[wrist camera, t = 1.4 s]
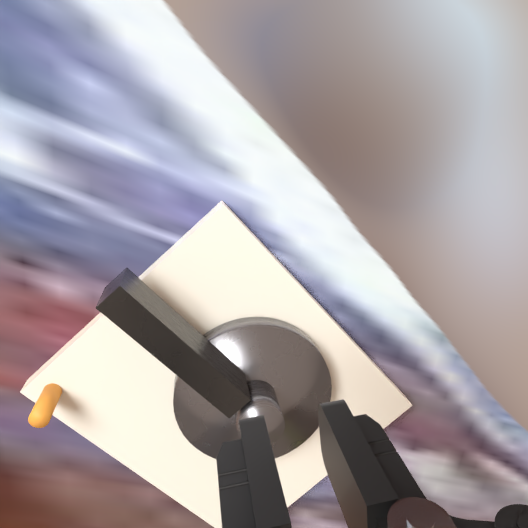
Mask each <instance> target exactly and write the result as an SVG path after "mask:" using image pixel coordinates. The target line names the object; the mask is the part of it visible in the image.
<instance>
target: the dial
mask: <svg viewBox="0 0 528 528" xmlns="http://www.w3.org/2000/svg"><path fill="white" fill-rule="evenodd" d="M96 309H97V310H99V311H100V312H101V313H102V314H103V315H105V316H106V317H107V318H108V319H109V320H111V321H112V322H113V323H114V324H116V325H117V326H118V327H119V328H120V329H122V330H123V331H124V332H125V333H126V334H128V335H129V336H130V337H131V338H132V339H134V340H135V341H136V342H137V343H138V344H140V345H141V346H142V347H143V348H144V349H146V350H147V351H148V352H149V353H151V354H152V355H153V356H154V357H155V358H157V359H158V360H159V361H160V362H161V363H163V364H164V365H165V366H166V367H167V368H169V369H170V370H171V371H172V372H173V373H175V374H176V376H175V380H174V395H173V407H174V414H175V418H176V421H177V424H178V426H179V429H180V430H181V432H182V433H183V435H184V437H185V438H186V439H187V440H188V441H189V442H190V443H191V444H192V445H193V446H194V447H195V448H196V449H198V450H199V451H201V452H202V453H204V454H206V455H208V456H210V457H212V458H214V459H216V457H217V455H218V453H219V450H220V448H221V446H222V443H223V442H228V441H233V440H238V439H241V433H240V426H239V420H240V419H245V418H250V417H255V416H260V415H264V418H265V422H266V426H267V430H268V434H269V438H270V442H271V446H272V450H273V454H274V458H278V457H280V456H283V455H285V454H287V453H289V452H291V451H292V450H294V449H296V448H297V447H299V446H300V445H301V444H303V443H304V442H305V441H306V440H307V439H308V438H309V437H310V436H311V435H312V434H313V433H314V432H315V431H316V430H317V428H318V427H319V418H318V404H322V403H327V402H330V400H331V392H332V384H331V377H330V373H329V369H328V367H327V364H326V362H325V360H324V358H323V357H322V355H321V353H320V351H319V350H318V348H317V346H316V345H315V343H314V342H313V341H312V340H311V339H310V337H309V336H307V335H306V334H305V333H304V332H303V331H302V330H300V329H298V328H297V327H295V326H294V325H291V324H289V323H287V322H284V321H281V320H278V319H274V318H268V317H245V318H240V319H235V320H232V321H229V322H226V323H223V324H221V325H219V326H217V327H215V328H213V329H211V330H210V331H208V332H206V333H205V334H204V335H202V334H201V333H200V332H198V331H197V330H196V329H195V328H194V327H193V326H192V325H191V324H189V323H188V322H187V321H186V320H185V319H184V318H183V317H182V316H181V315H179V314H178V313H177V312H176V311H175V310H174V309H173V308H172V307H171V306H169V305H168V304H167V303H166V302H165V301H164V300H163V299H162V298H160V297H159V296H158V295H157V294H156V293H155V292H154V291H153V290H152V289H150V288H149V287H148V286H147V285H146V284H145V283H144V282H143V281H142V280H140V279H139V278H138V277H137V276H136V275H135V274H134V273H133V272H131V271H130V270H129V269H128V268H126V269H125V270H123V271H122V272H121V273H120V274H119V275H118V276H117V277H116V278H115V279H114V280H113V281H112V282H111V283H109V284H108V285H107V286H106V287H105V289H104V291H103V293H102V295H101V297H100V300H99V302H98V304H97V306H96Z"/></svg>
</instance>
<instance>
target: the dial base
mask: <svg viewBox="0 0 528 528" xmlns="http://www.w3.org/2000/svg"><path fill="white" fill-rule="evenodd" d="M138 278H139V279H140V280H142V281H143V282H144V283H145V284H146V285H147V286H148V287H149V288H150V289H152V290H153V291H154V292H155V293H156V294H157V295H158V296H159V297H160V298H162V299H163V300H164V301H165V302H166V303H167V304H168V305H169V306H171V307H172V308H173V309H174V310H175V311H176V312H177V313H178V314H179V315H181V316H182V317H183V318H184V319H185V320H186V321H187V322H188V323H189V324H191V325H192V326H193V327H194V328H195V329H196V330H197V331H198V332H200V333H201V334H202V335H204V334H205V333H206V332H208V331H210V330H211V329H213V328H215V327H217V326H219V325H221V324H223V323H226V322H229V321H232V320H235V319H240V318H245V317H268V318H274V319H278V320H281V321H284V322H287V323H289V324H291V325H294V326H295V327H297V328H298V329H300V330H302V331H303V332H304V333H305V334H306V335H307V336H309V337H310V339H311V340H312V341H313V342H314V343H315V345H316V346H317V348H318V350H319V351H320V353H321V355H322V357H323V358H324V360H325V362H326V364H327V367H328V369H329V373H330V377H331V384H332V392H331V400H330V402H332V401H337V400H342V399H343V400H345V402H346V403H347V405H348V407H349V409H350V411H351V413H352V414H353V416H358V415H363V414H367V415H368V416H369V417H371V418H372V419H373V420H375V421H376V422H377V423H379V424H380V425H381V427H382V428H383V429H384V428H385V427H387V426H388V425H389V424H390V423H391V422H393V421H394V420H395V419H396V418H398V417H399V416H400V415H401V414H403V413H404V412H405V411H406V410H407V409H409V408H410V407H411V406H412V404H411V403H410V401H409V400H408V399H407V398H406V396H405V395H404V394H403V393H402V392H401V391H400V389H399V388H398V387H397V386H396V385H395V384H394V383H393V382H392V381H391V380H390V379H389V378H388V377H387V376H386V375H385V373H384V372H383V371H382V370H381V369H380V368H379V367H378V366H377V365H376V364H375V363H374V362H373V361H372V360H371V359H370V357H369V356H368V355H367V354H366V353H365V352H364V351H363V350H362V349H361V348H360V347H359V346H358V345H357V344H356V343H355V341H354V340H353V339H352V338H351V337H350V336H349V335H348V334H347V333H346V332H345V331H344V330H343V329H342V328H341V327H340V325H339V324H338V323H337V322H336V321H335V320H334V319H333V318H332V317H331V316H330V315H329V314H328V313H327V312H326V311H325V309H324V308H323V307H322V306H321V305H320V304H319V303H318V302H317V301H316V300H315V299H314V298H313V297H312V296H311V295H310V293H309V292H308V291H307V290H306V289H305V288H304V287H303V286H302V285H301V284H300V283H299V282H298V281H297V280H296V279H295V277H294V276H293V275H292V274H291V273H290V272H289V271H288V270H287V269H286V268H285V267H284V266H283V265H282V264H281V263H280V261H279V260H278V259H277V258H276V257H275V256H274V255H273V254H272V253H271V252H270V251H269V250H268V249H267V248H266V247H265V245H264V244H263V243H262V242H261V241H260V240H259V239H258V238H257V237H256V236H255V235H254V234H253V233H252V232H251V231H250V229H249V228H248V227H247V226H246V225H245V224H244V223H243V222H242V221H241V220H240V219H239V218H238V217H237V216H236V215H235V213H234V212H233V211H232V210H231V209H230V208H229V207H228V206H227V205H226V204H225V203H224V202H223V201H221V202H220V203H218V204H217V205H216V206H215V207H214V208H213V209H212V210H211V211H210V212H209V213H208V214H207V215H205V216H204V217H203V218H202V219H201V220H200V221H199V222H198V223H197V224H196V225H195V226H194V227H192V228H191V229H190V230H189V231H188V232H187V233H186V234H185V235H184V236H183V237H182V238H181V239H179V240H178V241H177V242H176V243H175V244H174V245H173V246H172V247H171V248H170V249H169V250H168V251H166V252H165V253H164V254H163V255H162V256H161V257H160V258H159V259H158V260H157V261H156V262H154V263H153V264H152V265H151V266H150V267H149V268H148V269H147V270H146V271H145V272H144V273H143V274H141V275H140V276H139V277H138ZM175 376H176V374H175V373H173V372H172V371H171V370H170V369H169V368H167V367H166V366H165V365H164V364H163V363H161V362H160V361H159V360H158V359H157V358H155V357H154V356H153V355H152V354H151V353H149V352H148V351H147V350H146V349H144V348H143V347H142V346H141V345H140V344H138V343H137V342H136V341H135V340H134V339H132V338H131V337H130V336H129V335H128V334H126V333H125V332H124V331H123V330H122V329H120V328H119V327H118V326H117V325H116V324H114V323H113V322H112V321H111V320H109V319H108V318H107V317H106V316H105V315H103V314H102V313H101V312H100V313H99V314H98V315H97V316H96V317H95V318H94V319H93V320H92V321H91V322H89V323H88V324H87V325H86V326H85V327H84V328H83V329H82V330H81V331H80V332H79V333H78V334H76V335H75V336H74V337H73V338H72V339H71V340H70V341H69V342H68V343H67V344H66V345H65V346H63V347H62V348H61V349H60V350H59V351H58V352H57V353H56V354H55V355H54V356H53V357H52V358H50V359H49V360H48V361H47V362H46V363H45V364H44V365H43V366H42V367H41V368H40V369H39V370H37V371H36V372H35V373H34V374H33V375H32V376H31V377H30V378H29V379H28V380H27V381H26V383H25V385H24V386H23V388H22V390H21V391H20V393H22V394H23V395H25V396H26V397H27V398H29V399H30V400H32V401H33V402H35V403H36V404H35V406H34V408H33V410H32V412H31V413H30V415H29V418H28V421H29V423H30V425H32V426H33V427H36V428H42V427H45V426H46V425H47V424H48V423H49V421H50V419H51V416H52V415H53V416H55V417H56V418H58V419H59V420H61V421H62V422H63V423H65V424H66V425H68V426H69V427H71V428H72V429H74V430H75V431H76V432H78V433H79V434H81V435H82V436H84V437H85V438H86V439H88V440H89V441H91V442H92V443H94V444H95V445H97V446H98V447H99V448H101V449H102V450H104V451H105V452H107V453H108V454H110V455H111V456H112V457H114V458H115V459H117V460H118V461H120V462H121V463H122V464H124V465H125V466H127V467H128V468H130V469H131V470H133V471H134V472H135V473H137V474H138V475H140V476H141V477H143V478H144V479H145V480H147V481H148V482H150V483H151V484H153V485H154V486H156V487H157V488H158V489H160V490H161V491H163V492H164V493H166V494H167V495H169V496H170V497H171V498H173V499H174V500H176V501H177V502H179V503H180V504H181V505H183V506H184V507H186V508H187V509H189V510H190V511H192V512H193V513H194V514H196V515H197V516H199V517H200V518H202V519H203V520H204V521H206V522H207V523H209V524H210V525H212V526H213V527H215V528H222V521H221V509H220V497H219V485H218V473H217V461H216V459H214V458H212V457H210V456H208V455H206V454H204V453H202V452H201V451H199V450H198V449H196V448H195V447H194V446H193V445H192V444H191V443H190V442H189V441H188V440H187V439H186V438H185V437H184V435H183V433H182V432H181V430H180V429H179V426H178V424H177V421H176V418H175V414H174V407H173V395H174V380H175ZM275 462H276V466H277V470H278V474H279V478H280V482H281V486H282V489H283V493H284V497H285V501H286V505H287V507H289V506H290V505H291V504H292V503H294V502H295V501H296V500H297V499H298V498H300V497H301V496H302V495H303V494H305V493H306V492H307V491H308V490H309V489H311V488H312V487H313V486H314V485H316V484H317V483H318V482H319V481H320V480H322V479H323V478H324V477H325V476H327V475H328V474H327V471H326V468H325V465H324V461H323V457H322V452H321V443H320V431H319V427H318V428H317V430H316V431H315V432H314V433H313V434H312V435H311V436H310V437H309V438H308V439H307V440H306V441H305V442H304V443H303V444H301V445H300V446H299V447H297V448H296V449H294V450H292V451H291V452H289V453H287V454H285V455H283V456H280V457H278V458H275Z"/></svg>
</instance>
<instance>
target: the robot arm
mask: <svg viewBox="0 0 528 528" xmlns="http://www.w3.org/2000/svg"><path fill="white" fill-rule="evenodd" d="M318 418H319V431H320V443H321V452H322V457H323V461H324V465H325V468H326V471H327V474H328V476H329V479H330V481H331V484H332V487H333V489H334V492H335V494H336V497H337V499H338V502H339V505H340V507H341V510H342V512H343V515H344V517H345V520H346V523H347V525H348V528H528V505H521V504H514V505H509V506H506V507H504V508H502V509H501V510H500V511H499V512H498V513H497V515H496V517H495V522H489V521H476V520H465V519H459V518H455V517H452V516H450V515H449V514H448V513H447V512H446V511H445V510H444V509H443V508H442V507H441V506H439V505H438V504H436V503H434V502H432V501H430V500H427V499H426V497H425V496H424V494H423V493H422V491H421V490H420V488H419V486H418V485H417V483H416V482H415V480H414V478H413V477H412V475H411V473H410V472H409V470H408V469H407V467H406V465H405V464H404V462H403V461H402V459H401V457H400V456H399V454H398V453H397V452H396V449H395V448H394V446H393V444H392V443H391V441H389V438H388V436H387V435H386V433H385V431H384V430H383V428H382V427H381V425H380V424H379V423H377V422H376V421H375V420H373V419H372V418H371V417H369V416H368V415H367V414H363V415H358V416H353V414H352V413H351V411H350V409H349V407H348V405H347V403H346V402H345V400H343V399H342V400H337V401H332V402H327V403H322V404H318ZM239 426H240V433H241V439H238V440H233V441H228V442H223V443H222V446H221V448H220V450H219V453H218V455H217V457H216V461H217V473H218V485H219V497H220V509H221V521H222V528H291V521H290V517H289V513H288V509H287V505H286V501H285V497H284V493H283V489H282V486H281V482H280V478H279V474H278V470H277V466H276V462H275V458H274V454H273V450H272V446H271V442H270V438H269V434H268V430H267V426H266V422H265V418H264V415H260V416H255V417H250V418H245V419H240V420H239Z"/></svg>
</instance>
